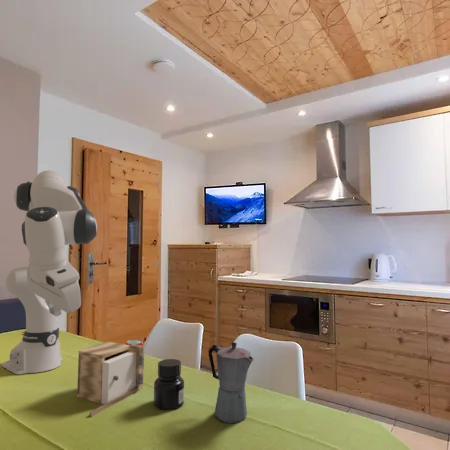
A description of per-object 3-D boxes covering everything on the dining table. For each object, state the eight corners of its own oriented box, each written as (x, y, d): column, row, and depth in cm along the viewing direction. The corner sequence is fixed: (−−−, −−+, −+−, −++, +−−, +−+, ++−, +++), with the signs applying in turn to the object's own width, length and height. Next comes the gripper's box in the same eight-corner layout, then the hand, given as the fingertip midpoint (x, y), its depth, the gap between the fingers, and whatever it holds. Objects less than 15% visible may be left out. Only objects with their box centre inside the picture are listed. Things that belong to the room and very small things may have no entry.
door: (101, 403, 99) (102, 361, 100) (129, 388, 110) (130, 351, 111) (110, 406, 98) (111, 363, 98) (137, 390, 108) (138, 352, 109)
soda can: (138, 379, 118) (139, 344, 119) (120, 377, 119) (120, 343, 120) (146, 372, 125) (147, 339, 126) (129, 370, 126) (130, 338, 127)
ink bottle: (188, 407, 97) (189, 365, 98) (158, 414, 93) (159, 370, 94) (177, 394, 106) (178, 356, 107) (150, 400, 102) (151, 359, 103)
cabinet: (56, 406, 97) (58, 357, 98) (110, 381, 116) (112, 340, 117) (95, 418, 91) (96, 365, 92) (145, 389, 109) (146, 346, 110)
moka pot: (245, 431, 85) (245, 350, 86) (196, 415, 93) (197, 341, 94) (261, 415, 93) (261, 341, 94) (215, 401, 101) (216, 334, 102)
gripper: (17, 262, 91) (24, 306, 96) (60, 284, 81) (66, 333, 85) (40, 255, 96) (46, 297, 101) (83, 275, 86) (87, 321, 90)
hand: (55, 313), depth 93 cm, fingers closed
